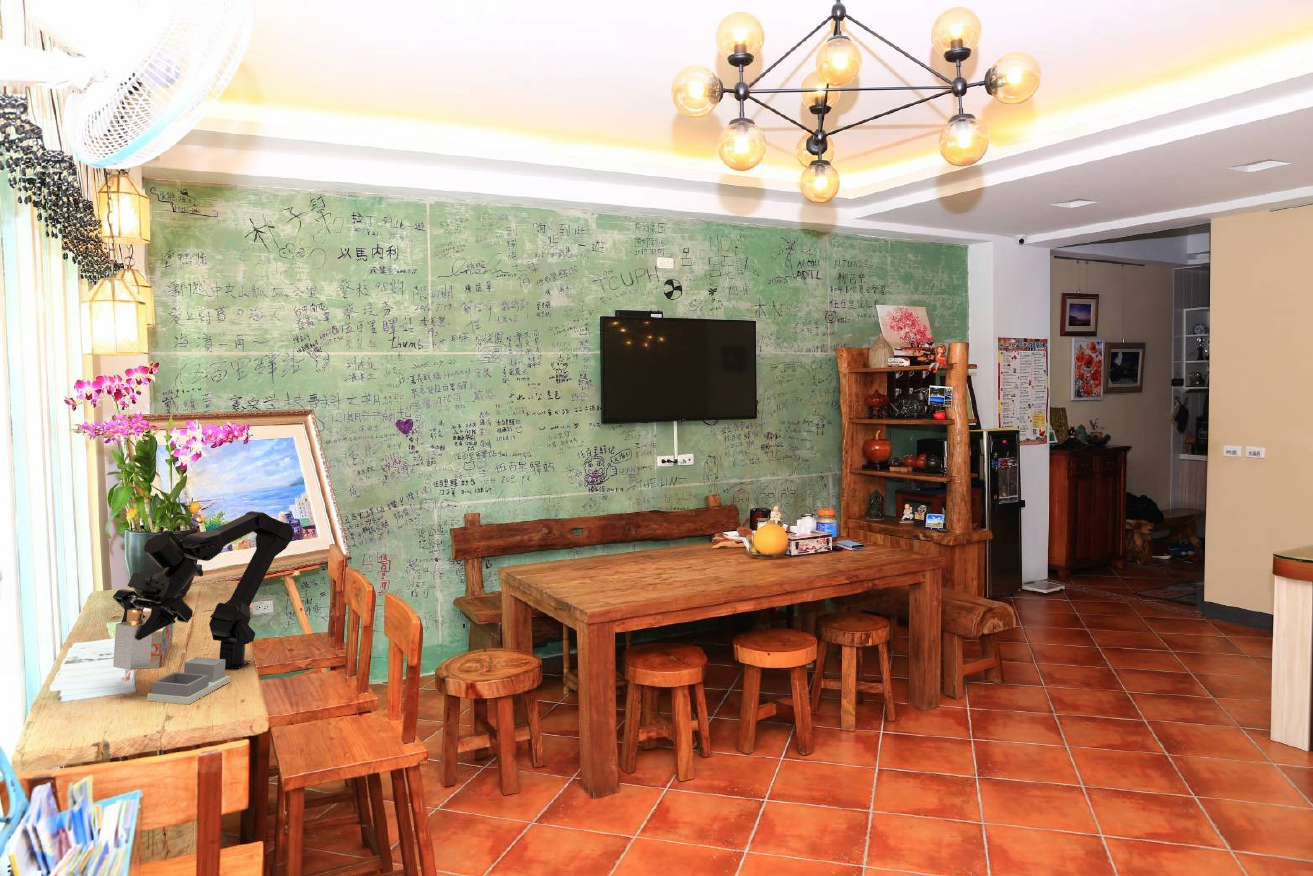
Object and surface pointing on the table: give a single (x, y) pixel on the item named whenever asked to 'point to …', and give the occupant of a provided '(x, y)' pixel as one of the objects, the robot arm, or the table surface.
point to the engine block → (131, 642)
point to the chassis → (190, 682)
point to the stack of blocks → (159, 642)
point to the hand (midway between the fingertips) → (128, 637)
